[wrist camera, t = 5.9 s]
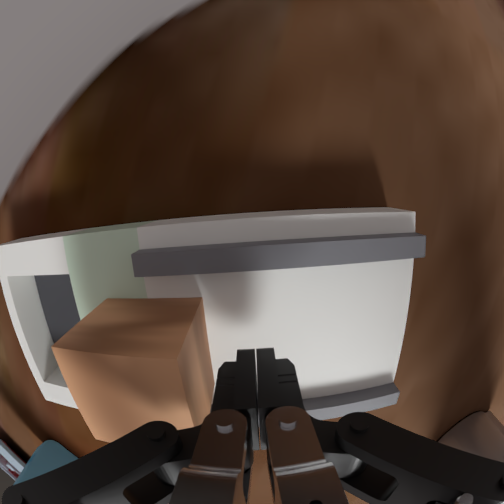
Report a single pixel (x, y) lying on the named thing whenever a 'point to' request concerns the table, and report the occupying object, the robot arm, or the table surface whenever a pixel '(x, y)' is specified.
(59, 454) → the blue square slab
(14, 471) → the maze game
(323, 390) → the tray
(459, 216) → the table surface
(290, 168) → the table surface
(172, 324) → the terracotta cube
